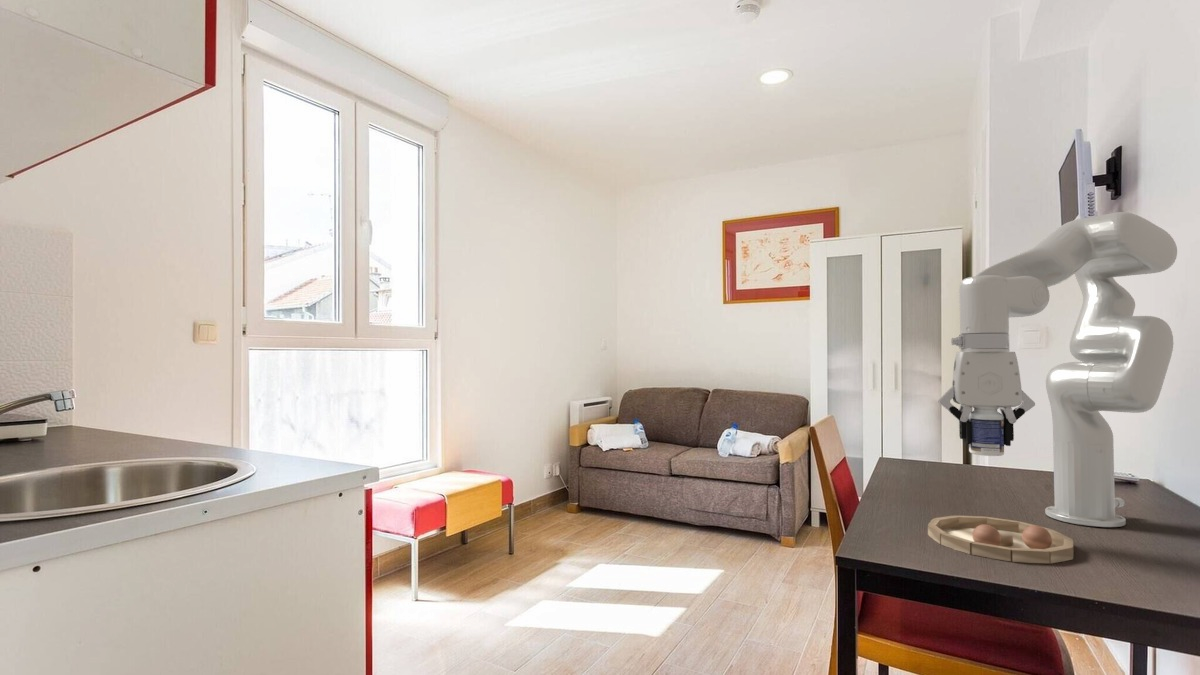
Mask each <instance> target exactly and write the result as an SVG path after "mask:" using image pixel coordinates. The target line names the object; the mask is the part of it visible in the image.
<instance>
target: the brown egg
mask: <svg viewBox="0 0 1200 675" xmlns="http://www.w3.org/2000/svg"><path fill="white" fill-rule="evenodd" d="M972 536H973V540H974V542H978V543H984V544H991V545H997V546H999V545H1000V543H1001V535H1000V533H999V532H998V530H997V529H995V528H994V527H992V526H990V525H986V524H983V525H979V526H977V527H976V528H975V529H974V530H973V534H972Z"/></svg>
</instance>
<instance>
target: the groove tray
mask: <svg viewBox="0 0 1200 675" xmlns="http://www.w3.org/2000/svg"><path fill="white" fill-rule="evenodd" d="M983 524H986V525H990V526H992V527H994V528H995V529H997V530H998V532H999V533H1000V535H1001V543H1000V545H999V546H997V545H991V544H984V543H978V542H974V540H973V536H972V534H973V530H974V529H975V528H976V527H977V526H979V525H983ZM1032 525H1034V524H1033V523H1029V522H1024V521H1019V520H1014V519H1013V520H1012V519H1007V518H1005V519H1004V518H998V517H990V516H980V515H975V516H974V515H947V516H939V517H934V518H932V519H931V520H930V522H928V524H927V535H928V537H930V538H931V539H932V540H933V541H935V542H936V543H938V544H939V545H941V546H943V547H944V546H945V547H947V548H949V549H952V550H955V551H958V552H962V553H965V554H968V555H972V556H977V557H983V558H987V559H992V560H999V561H1005V562H1010V563H1011V562H1012V563H1025V564H1027V563H1028V564H1057V563H1061V562H1062V563H1063V562H1065V561H1070V560H1074V539H1073V538H1071V537H1069V536H1067V535H1066V534H1063V533H1061V532H1059V531H1057V530H1054V529H1052V528H1048V527H1044V526H1042V527H1043V528H1045V529H1046V530H1047V531H1048V532H1049V533H1050V535H1051V537H1052V544H1051V546H1050V547H1049V548H1047V549H1031V548H1029V547H1028V546H1027V545H1026V544H1025V543H1024V541H1023V539H1022V533H1023V531H1024V529H1025V528H1027V527H1029V526H1032Z"/></svg>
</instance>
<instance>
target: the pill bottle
mask: <svg viewBox="0 0 1200 675" xmlns="http://www.w3.org/2000/svg"><path fill="white" fill-rule="evenodd" d="M972 409H973V411H972V410H971V412H970V415H969V422H970V423H971V437H972V443H971V444H968V452H969V453H970V454H973V455H977V456H986V457H1002V456H1004V454H1005V445H1004V417H1003V415H1002V414H1001V412H998V410H1000V409H999V407H972Z"/></svg>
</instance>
